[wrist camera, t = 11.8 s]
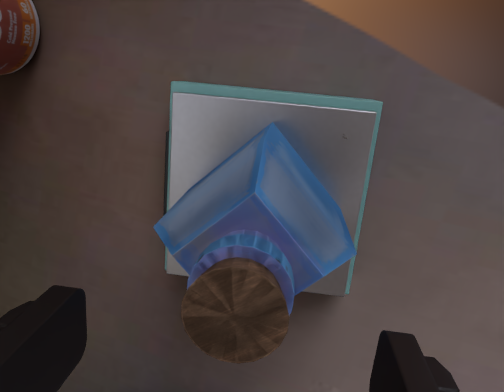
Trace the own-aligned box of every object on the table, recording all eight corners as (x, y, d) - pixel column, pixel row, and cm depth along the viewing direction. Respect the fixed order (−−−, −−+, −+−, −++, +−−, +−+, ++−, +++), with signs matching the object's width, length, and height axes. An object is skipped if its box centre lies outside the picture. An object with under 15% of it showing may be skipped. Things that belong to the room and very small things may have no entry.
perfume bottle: (255, 268, 24) (222, 435, 13) (188, 189, 23) (88, 295, 12) (340, 208, 23) (387, 339, 11) (272, 121, 22) (249, 169, 10)
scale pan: (175, 91, 23) (172, 91, 22) (374, 111, 22) (377, 112, 21) (168, 269, 26) (166, 273, 25) (343, 292, 25) (344, 297, 24)
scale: (176, 80, 26) (160, 80, 23) (374, 99, 25) (386, 102, 22) (170, 254, 29) (155, 274, 26) (344, 276, 28) (350, 300, 25)
